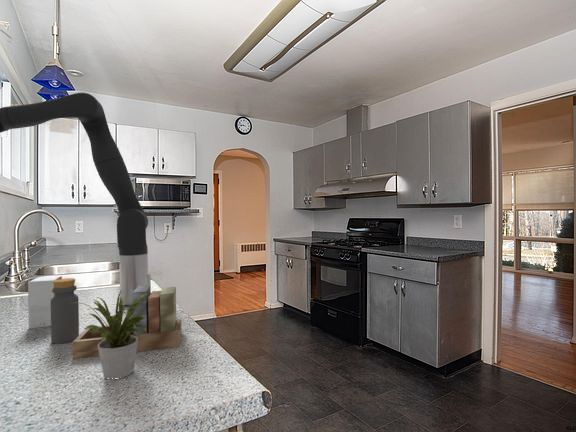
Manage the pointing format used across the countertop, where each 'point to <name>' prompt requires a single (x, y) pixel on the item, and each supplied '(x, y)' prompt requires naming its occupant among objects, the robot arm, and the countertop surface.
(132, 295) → the robot arm
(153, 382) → the countertop surface
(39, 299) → the small box
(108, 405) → the countertop surface
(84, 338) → the rack
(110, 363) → the house plant
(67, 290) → the bottle
